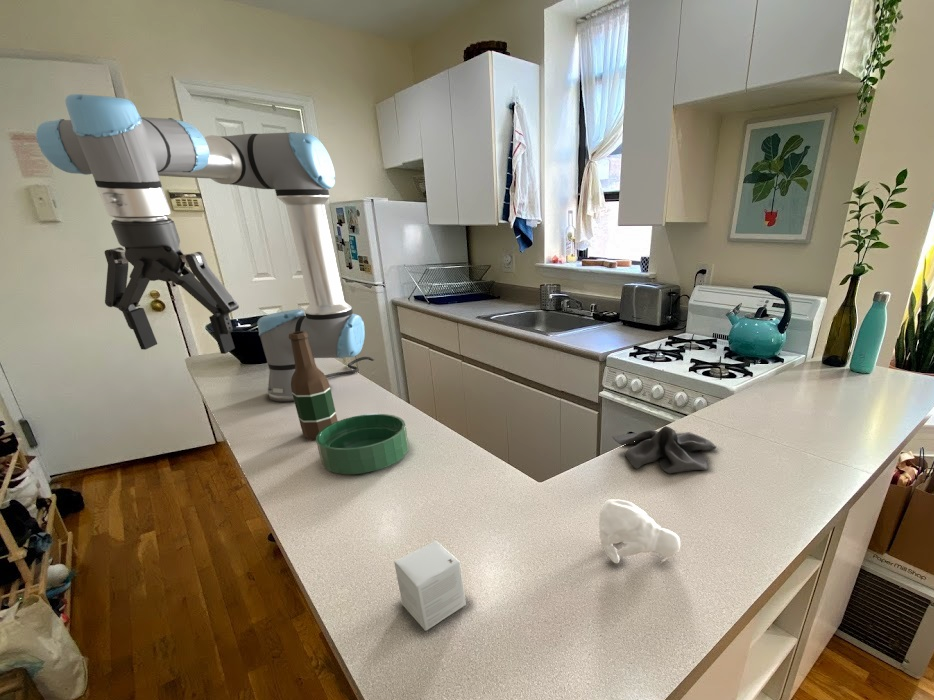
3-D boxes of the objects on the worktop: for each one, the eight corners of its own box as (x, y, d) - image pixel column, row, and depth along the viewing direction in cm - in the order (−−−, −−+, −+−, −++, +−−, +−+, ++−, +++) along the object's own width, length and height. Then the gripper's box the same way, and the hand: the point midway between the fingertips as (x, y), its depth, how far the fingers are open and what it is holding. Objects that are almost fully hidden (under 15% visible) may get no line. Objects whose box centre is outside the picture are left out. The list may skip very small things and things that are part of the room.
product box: (442, 581, 64) (436, 538, 61) (467, 605, 60) (461, 561, 57) (401, 605, 60) (392, 560, 57) (424, 633, 56) (416, 586, 53)
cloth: (717, 439, 102) (720, 414, 100) (714, 481, 86) (718, 452, 84) (618, 426, 109) (619, 402, 107) (598, 463, 93) (599, 436, 91)
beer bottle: (304, 429, 111) (279, 330, 101) (339, 424, 113) (318, 327, 104) (302, 443, 104) (274, 338, 94) (339, 436, 107) (316, 334, 97)
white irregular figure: (604, 487, 69) (686, 503, 67) (598, 533, 72) (675, 549, 70) (598, 512, 63) (688, 530, 61) (591, 560, 67) (676, 578, 65)
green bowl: (348, 436, 107) (343, 413, 104) (420, 438, 105) (417, 414, 103) (305, 475, 91) (297, 448, 89) (389, 478, 90) (384, 450, 87)
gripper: (34, 216, 67) (98, 352, 77) (208, 226, 67) (248, 360, 78) (81, 210, 74) (133, 337, 84) (239, 219, 74) (272, 344, 84)
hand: (188, 348), depth 81 cm, fingers open, 13 cm apart
